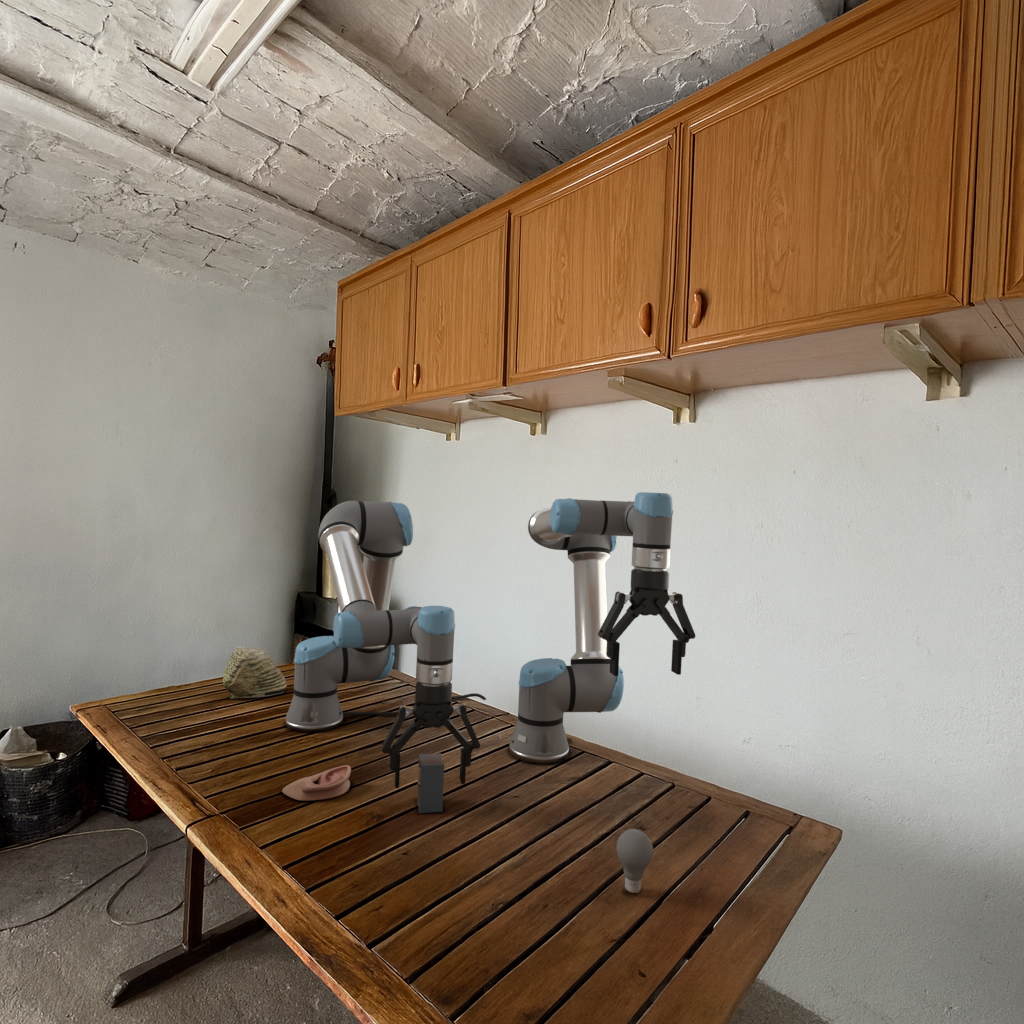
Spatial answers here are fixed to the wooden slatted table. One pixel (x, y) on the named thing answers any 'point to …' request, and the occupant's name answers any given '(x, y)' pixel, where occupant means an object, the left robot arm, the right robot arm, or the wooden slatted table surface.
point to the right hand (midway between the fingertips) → (645, 673)
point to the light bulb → (634, 857)
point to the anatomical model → (320, 785)
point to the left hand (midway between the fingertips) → (429, 783)
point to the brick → (430, 783)
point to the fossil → (252, 674)
